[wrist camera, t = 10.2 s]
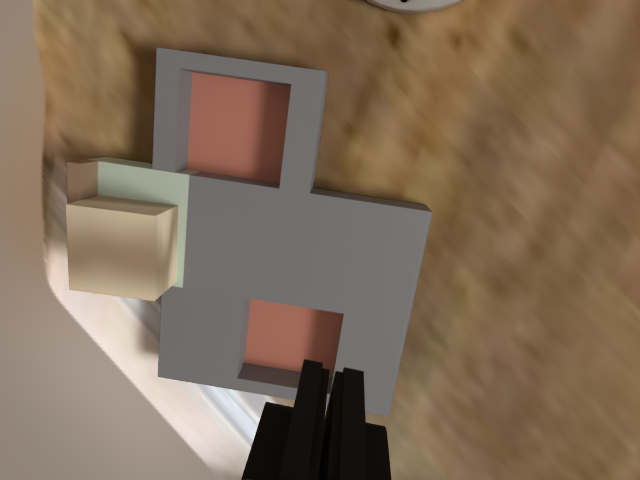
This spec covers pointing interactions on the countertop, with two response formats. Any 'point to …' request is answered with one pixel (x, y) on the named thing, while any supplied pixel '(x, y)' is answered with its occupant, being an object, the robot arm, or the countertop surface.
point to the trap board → (265, 234)
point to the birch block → (122, 246)
